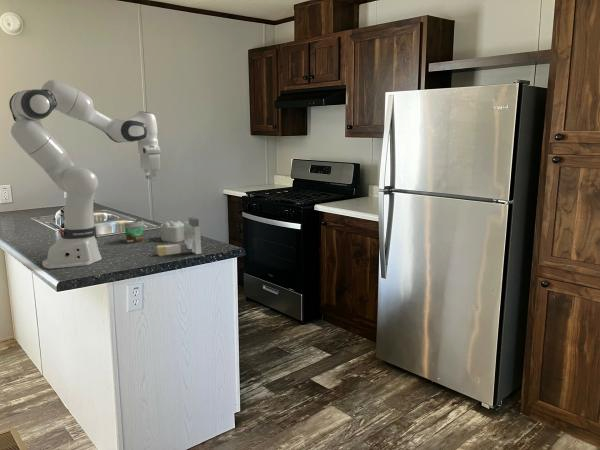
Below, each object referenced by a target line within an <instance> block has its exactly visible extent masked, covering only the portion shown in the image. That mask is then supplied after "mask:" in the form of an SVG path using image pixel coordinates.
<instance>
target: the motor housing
mask: <svg viewBox="0 0 600 450" xmlns="http://www.w3.org/2000/svg"><path fill="white" fill-rule="evenodd" d="M183 224H184V240H183V241H184V243H186V244H187V251H188V250H191V251H192V253H193V254H195V255H199V254H202V244H201V243H202V241H201V238H202V237H201V226H200V222H199V218H197V217H195V216H192V217H188V221H187V220H186V221H183Z"/></svg>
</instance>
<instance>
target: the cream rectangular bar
mask: <svg viewBox="0 0 600 450" xmlns="http://www.w3.org/2000/svg"><path fill="white" fill-rule="evenodd" d="M184 253H188V249H187V244H186V243H185V242H180V243H179V242H178V243H175V244H174V243H173V244H165V245H164V244H162V245H157V246H156V255H158V256H159V257H163V256H168V255H177V254H184Z"/></svg>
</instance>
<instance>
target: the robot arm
mask: <svg viewBox="0 0 600 450" xmlns="http://www.w3.org/2000/svg"><path fill="white" fill-rule="evenodd" d="M8 102H9V103H8V105H9V110H10V112H11V115H12V118H13V121H14V122H13V124H12V125H11V129H10V134H11V136H12V138H13V139H14V140H15V142H16V144H18V145H19V147H20V148H21V149H22V150H23V151H24V152H25V153H26V154H27V155H28V156H29V157H30V158H31V159H33V161H34V162H35V163H36V164H37V165H38V166H39V167H40V168H41V169H43V171H44V172H45V173H46V174H47V175H48V177H49V178H50V180H52V181H53V182H54V184H55V185H56V186H57V187H58V188H59V189H60V190H61V191H63V192H65V193H66V201H65V206H64V208H63V214H64V215H63V216H64V224H65V228H58V233H59V234H60V237H61V238H59V239H58V240H57V241H56V242H55V243H54V244H52V245H51V246H50V247H49V249H48V252H47V258H46V259H44V260H42V267H43V268H45V269H61V268H71V267H80V266H84V267H85V266H89V265H91V264H93V263H96V262H99V261H101V260H102V258H103V257H102V255H101V253H100V251H99V250H100V249H99V245H98V241H97V239H98V233H97V227H96V225H95V216H94V215H95V213H94V202H95V195H96V194H95V193H96V190H97V189H98V187H99V179H98V177H97V175H96V174H95V173H93V172H92V171H91V170H90V169H88V168H85V167H80V166H78V165H77V164H75V163H74V161H72V159H71V158H70V156H69V155H68V153H67V150H66V149H65V148H64V147H63V146H62V145H61V144H60V143H59V142H58V141H57V140H56V139H55V138H54V137H53V135H51V134H50V133H49V132H48V131H47V130H46V129H45V128H44V126H43V124H42V122H41V121H42V119H45V118H47V117H48V116H50V115H51V113H52V112H53V111H54V110H55V111H58V112H60V113H62V114H64V115H66V116H67V117H70V118H73V119H75V120H79V121H82V122H85V123H88V124H89V125H91V126H93V127H94V128H97V129H99V130H100V131H102V132H103V133H104V134H105V135H106V136H107V137H108V138H109V139H110V140H111V141H113V142H114V143H119V144H120V143H134V142H137V152H138V154H139V162H140V164H139V165H140V168H141V169H143V172H144V175H145V176H144V177H145V179H146V180H150V181H152V182H156V180H157V172H158V171H160V169H161V155H160V154H161V152H162V151H161V148H160V146H159V139H158V132H159V131H158V123H157V118H156V116H155V114H153V113H152V112H149V111H137V112H136V113H135V114H134V115H132V116H131V117H129V118H126V119H117V118H115V119H114V118H110V117H108V116H107V115H104V114H103V113H101V112H99V111H97V110H96V108H94V102H93V99H92V97H90V96H89V95H87V94H86V93H84V92H83V91H81V90H79V89H78V88H76V87H74V86H71V85H69V84H67V83H65V82H62V81H59V80H55V79H49V80H47V81H46V82H44V83H43V85H42V87H41V89H38V88H37V89H23V90H21V91H18V92H16V93H14V94H13V95H12V96H11V97H10V99H9V101H8Z"/></svg>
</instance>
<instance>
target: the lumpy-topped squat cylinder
mask: <svg viewBox="0 0 600 450" xmlns="http://www.w3.org/2000/svg"><path fill="white" fill-rule="evenodd" d="M160 240H161V241H163V242H168V243H177V242H178V243H179V242H181V241H185V240H184V222H181V221H180V220H176V221H172V220H169V221H164V222H162V224H160Z"/></svg>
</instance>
